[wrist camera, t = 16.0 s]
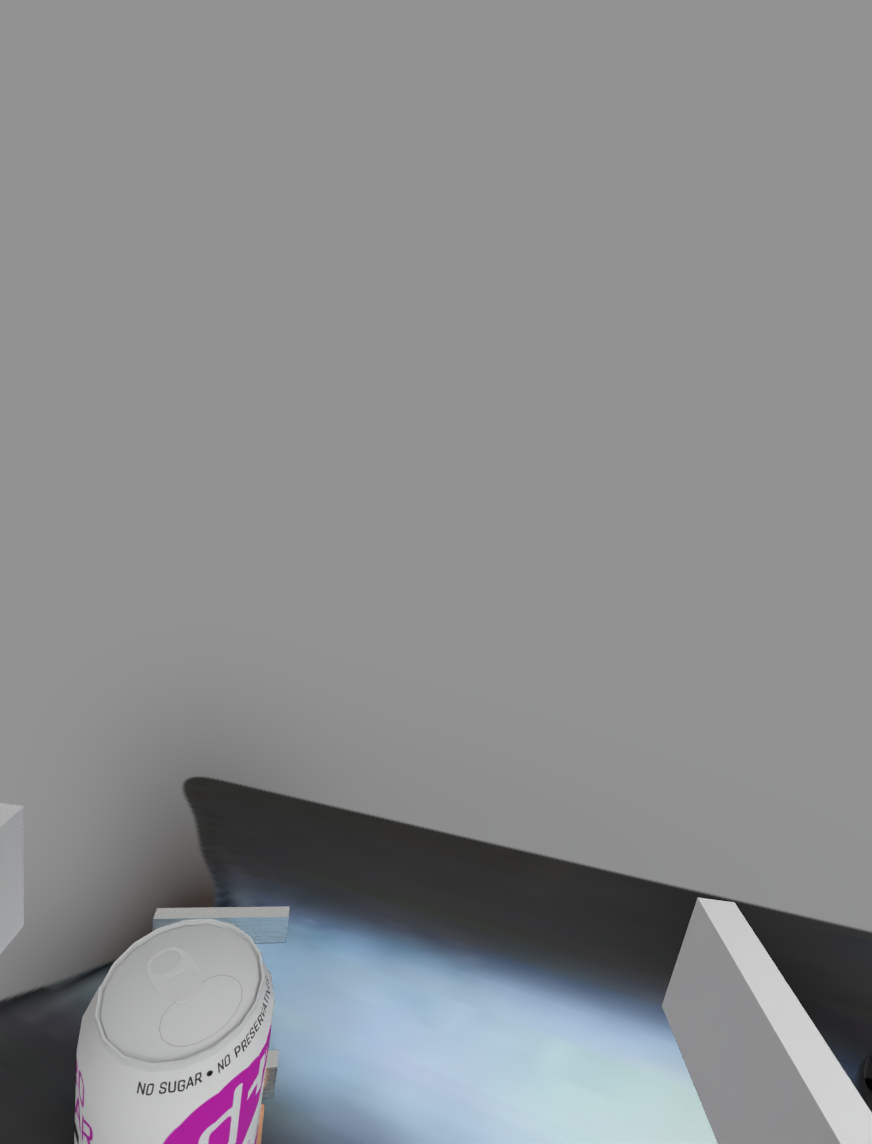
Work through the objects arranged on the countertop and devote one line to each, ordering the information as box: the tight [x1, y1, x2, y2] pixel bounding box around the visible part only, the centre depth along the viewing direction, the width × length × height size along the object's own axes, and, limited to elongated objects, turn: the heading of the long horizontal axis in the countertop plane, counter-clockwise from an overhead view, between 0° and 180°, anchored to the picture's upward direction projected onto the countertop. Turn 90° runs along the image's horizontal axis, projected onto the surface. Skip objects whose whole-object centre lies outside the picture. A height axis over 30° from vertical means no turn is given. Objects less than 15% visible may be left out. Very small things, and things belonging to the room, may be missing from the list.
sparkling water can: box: [74, 919, 275, 1144], centre depth 28 cm, size 8×8×15 cm
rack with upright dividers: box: [152, 907, 289, 1144], centre depth 34 cm, size 10×23×2 cm, turn 11°
